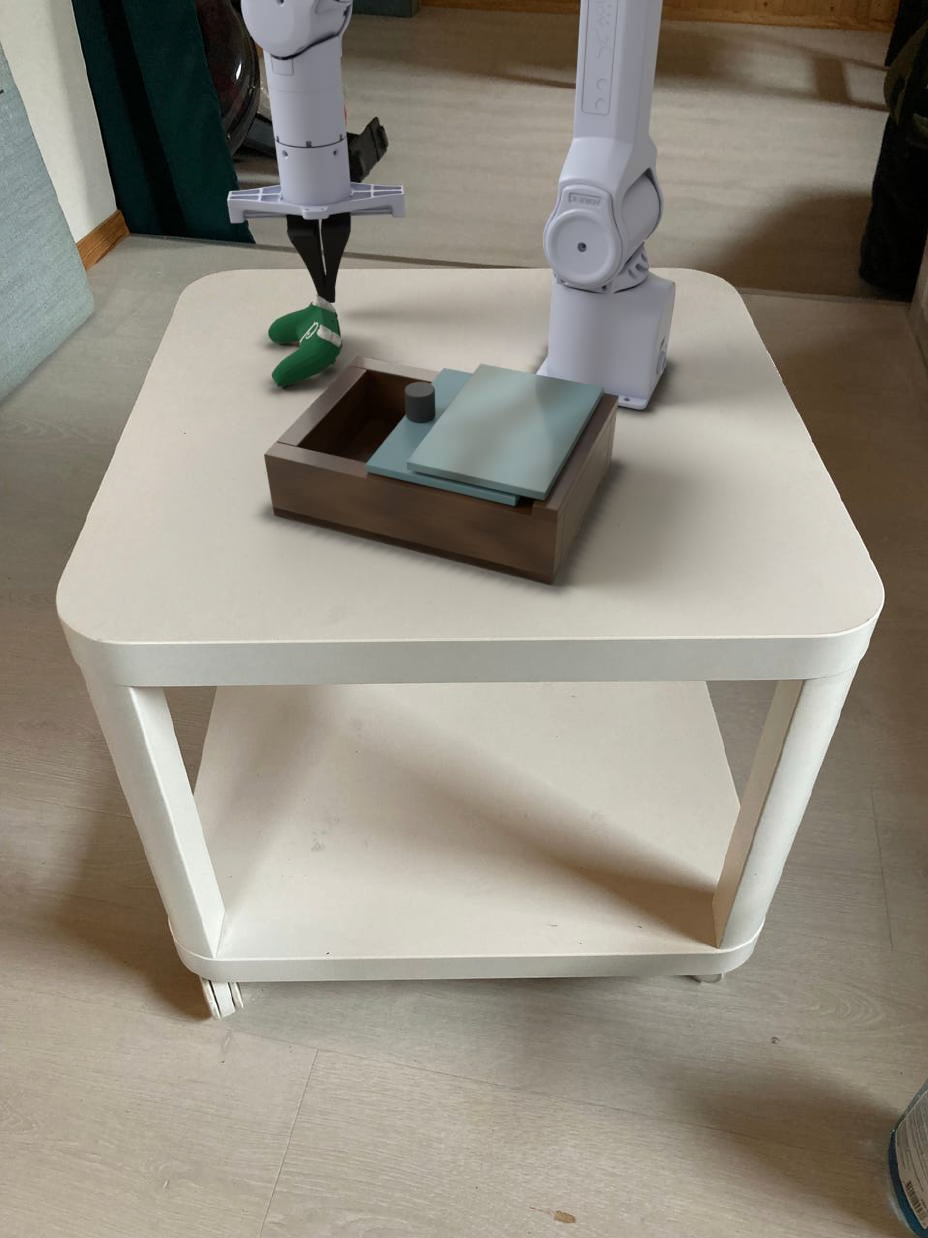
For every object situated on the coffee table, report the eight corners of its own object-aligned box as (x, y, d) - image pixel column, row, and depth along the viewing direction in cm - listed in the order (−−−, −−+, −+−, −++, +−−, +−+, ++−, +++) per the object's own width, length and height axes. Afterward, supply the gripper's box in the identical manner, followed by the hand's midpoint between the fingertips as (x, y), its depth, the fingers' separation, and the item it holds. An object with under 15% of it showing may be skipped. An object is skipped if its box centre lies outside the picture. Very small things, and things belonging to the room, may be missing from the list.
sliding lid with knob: (576, 401, 68) (579, 367, 66) (515, 506, 59) (516, 470, 58) (443, 374, 71) (443, 341, 69) (366, 471, 62) (363, 436, 60)
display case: (610, 466, 71) (620, 386, 67) (552, 585, 62) (558, 501, 57) (362, 413, 77) (355, 335, 72) (273, 515, 67) (259, 433, 63)
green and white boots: (305, 408, 80) (353, 357, 78) (267, 382, 78) (316, 328, 76) (298, 354, 87) (342, 305, 85) (263, 328, 85) (308, 277, 82)
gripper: (213, 155, 75) (241, 322, 84) (403, 150, 76) (410, 315, 85) (222, 126, 80) (248, 285, 89) (400, 121, 81) (407, 280, 90)
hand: (327, 298), depth 87 cm, fingers closed
